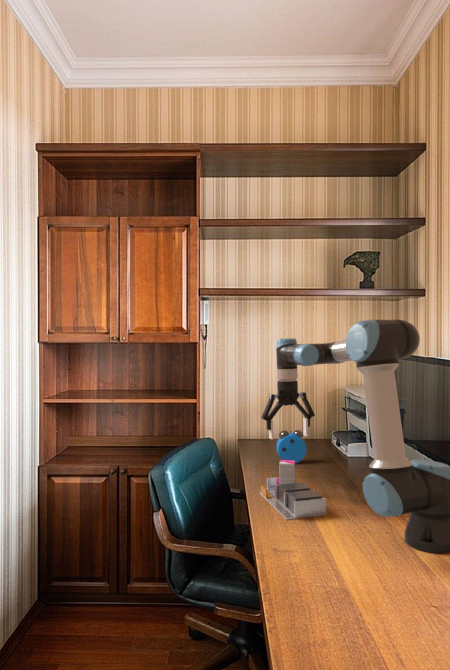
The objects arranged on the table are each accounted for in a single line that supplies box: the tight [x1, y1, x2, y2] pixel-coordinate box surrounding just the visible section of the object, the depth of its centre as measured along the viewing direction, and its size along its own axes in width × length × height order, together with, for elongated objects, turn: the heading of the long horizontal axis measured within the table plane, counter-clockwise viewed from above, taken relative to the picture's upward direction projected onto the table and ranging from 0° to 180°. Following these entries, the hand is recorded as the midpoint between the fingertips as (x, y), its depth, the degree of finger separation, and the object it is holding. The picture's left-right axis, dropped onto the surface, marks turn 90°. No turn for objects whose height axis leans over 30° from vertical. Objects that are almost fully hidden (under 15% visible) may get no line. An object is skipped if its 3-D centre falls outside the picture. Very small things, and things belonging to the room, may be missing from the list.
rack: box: [259, 476, 327, 521], centre depth 188 cm, size 29×14×6 cm, turn 14°
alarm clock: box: [276, 429, 307, 464], centre depth 244 cm, size 13×6×15 cm, turn 92°
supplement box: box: [278, 459, 296, 485], centre depth 197 cm, size 6×6×12 cm
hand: (288, 437), depth 197 cm, fingers open, 13 cm apart
